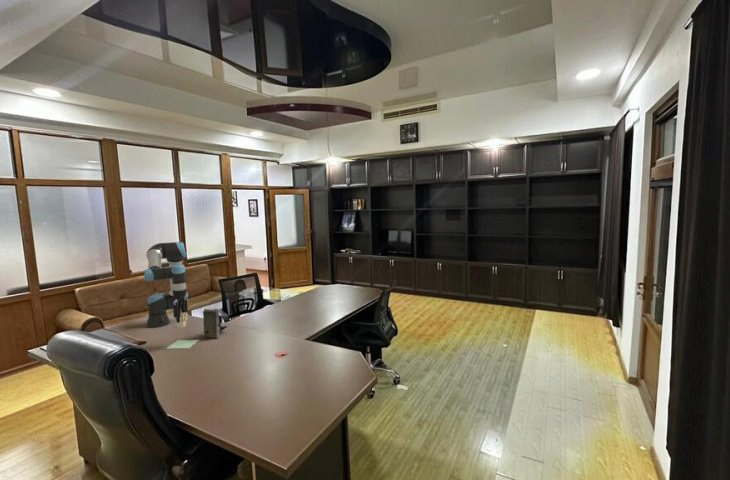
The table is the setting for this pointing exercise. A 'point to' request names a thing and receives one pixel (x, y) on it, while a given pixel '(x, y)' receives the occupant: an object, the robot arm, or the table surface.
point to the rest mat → (182, 344)
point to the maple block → (182, 320)
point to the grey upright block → (212, 323)
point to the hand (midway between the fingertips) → (181, 325)
